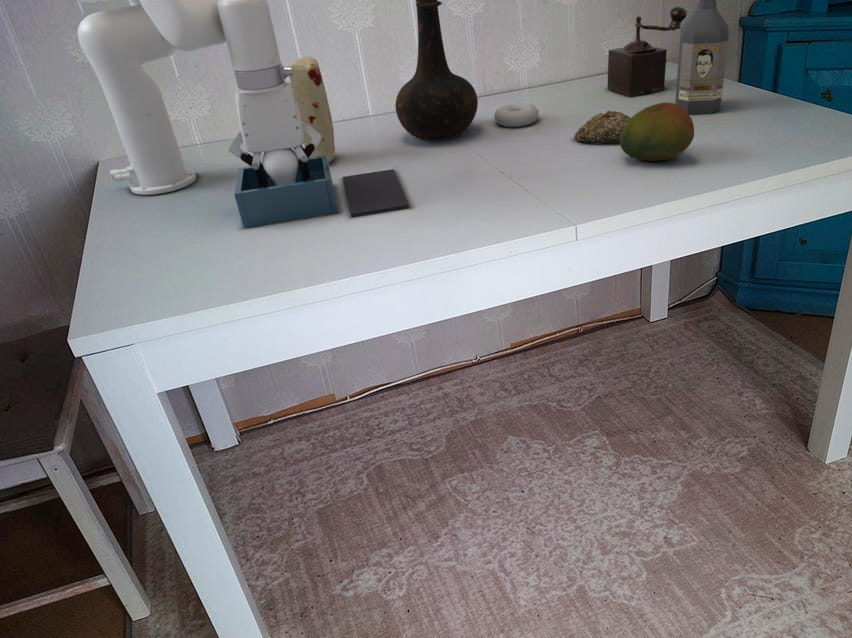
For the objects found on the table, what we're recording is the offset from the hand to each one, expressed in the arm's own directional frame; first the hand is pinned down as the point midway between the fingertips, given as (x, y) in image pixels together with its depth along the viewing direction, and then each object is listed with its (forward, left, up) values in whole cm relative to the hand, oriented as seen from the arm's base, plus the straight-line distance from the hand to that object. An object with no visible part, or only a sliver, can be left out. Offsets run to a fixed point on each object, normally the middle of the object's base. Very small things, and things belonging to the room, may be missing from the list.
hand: (286, 185), depth 123 cm
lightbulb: (0, 0, -4) cm, 4 cm away
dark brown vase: (+33, +30, -4) cm, 45 cm away
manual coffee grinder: (+88, +44, -4) cm, 98 cm away
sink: (0, +1, -4) cm, 4 cm away
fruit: (+67, -6, -4) cm, 67 cm away
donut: (+51, +31, -4) cm, 60 cm away
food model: (+7, +24, -4) cm, 25 cm away
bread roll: (+65, +12, -4) cm, 66 cm away
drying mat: (+15, 0, -4) cm, 15 cm away
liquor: (+90, +21, -4) cm, 93 cm away
